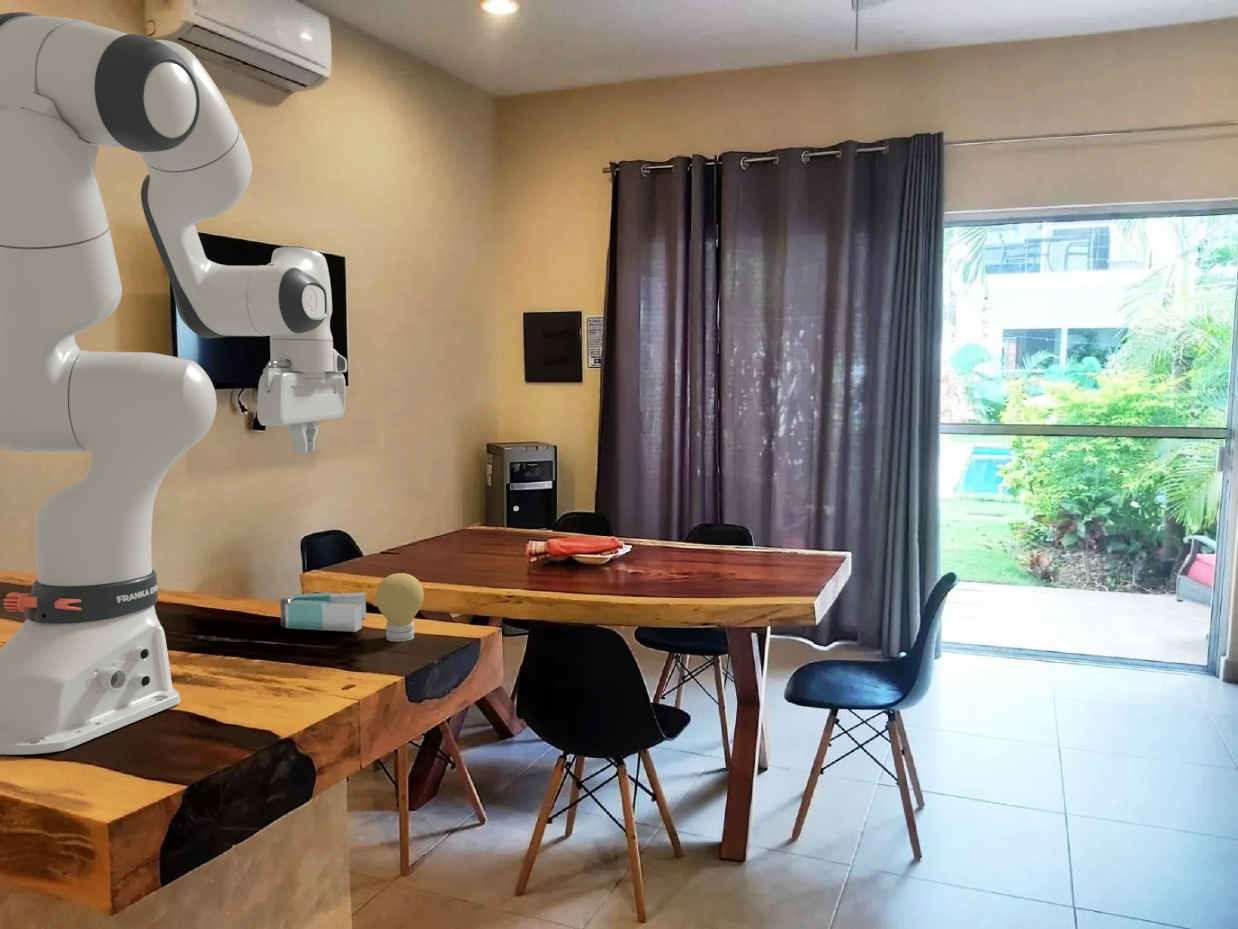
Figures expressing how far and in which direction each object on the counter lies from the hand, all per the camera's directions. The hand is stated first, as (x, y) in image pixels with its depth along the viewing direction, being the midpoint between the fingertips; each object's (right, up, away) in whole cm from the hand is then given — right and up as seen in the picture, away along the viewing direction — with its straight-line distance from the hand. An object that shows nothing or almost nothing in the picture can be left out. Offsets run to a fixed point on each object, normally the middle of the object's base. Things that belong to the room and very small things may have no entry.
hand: (304, 452), depth 135 cm
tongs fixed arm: (+5, -25, -7) cm, 27 cm away
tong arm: (+4, -25, -3) cm, 25 cm away
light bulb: (+17, -27, -12) cm, 34 cm away
